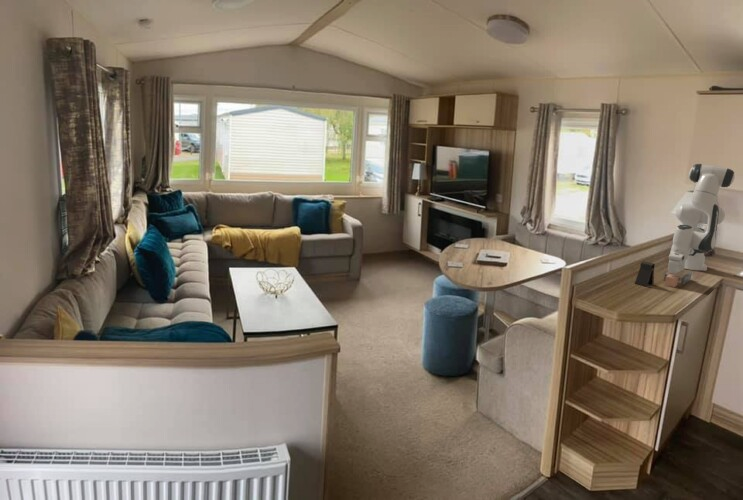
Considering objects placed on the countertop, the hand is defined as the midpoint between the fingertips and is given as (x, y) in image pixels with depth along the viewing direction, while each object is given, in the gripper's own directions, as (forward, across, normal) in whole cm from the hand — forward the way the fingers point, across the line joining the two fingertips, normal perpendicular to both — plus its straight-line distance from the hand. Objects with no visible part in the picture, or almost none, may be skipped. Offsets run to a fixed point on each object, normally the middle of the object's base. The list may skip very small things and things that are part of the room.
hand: (674, 278), depth 309 cm
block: (+2, +8, 0) cm, 8 cm away
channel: (+2, -6, 0) cm, 6 cm away
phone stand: (+2, +20, -10) cm, 22 cm away
